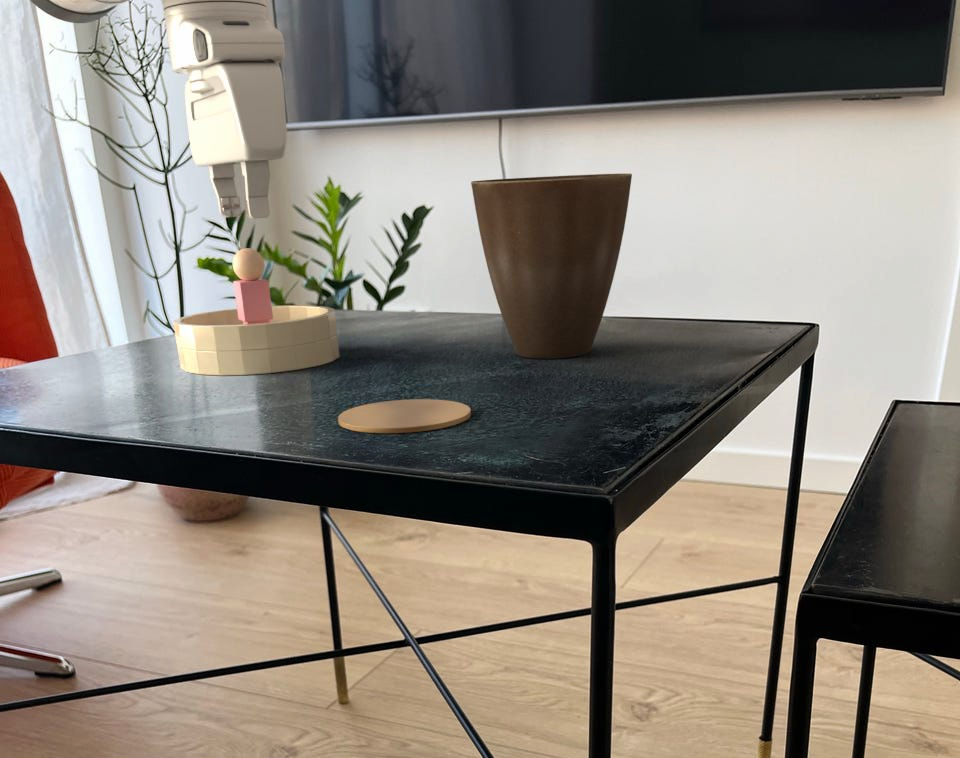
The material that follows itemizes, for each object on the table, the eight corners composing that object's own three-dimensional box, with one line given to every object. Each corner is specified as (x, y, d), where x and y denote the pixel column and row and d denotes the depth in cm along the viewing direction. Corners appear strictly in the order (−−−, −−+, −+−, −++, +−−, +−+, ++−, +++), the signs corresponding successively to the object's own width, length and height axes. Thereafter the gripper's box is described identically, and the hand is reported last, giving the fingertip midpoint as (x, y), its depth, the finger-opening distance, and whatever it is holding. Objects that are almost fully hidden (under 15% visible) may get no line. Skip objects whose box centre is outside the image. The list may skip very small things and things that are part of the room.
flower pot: (650, 359, 95) (654, 171, 89) (494, 371, 93) (487, 180, 86) (603, 337, 109) (604, 173, 102) (466, 347, 106) (458, 180, 100)
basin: (203, 388, 92) (194, 331, 89) (167, 366, 104) (159, 315, 102) (362, 368, 98) (357, 314, 96) (310, 349, 110) (305, 301, 108)
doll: (249, 364, 99) (234, 250, 94) (241, 361, 101) (225, 248, 97) (281, 361, 100) (267, 247, 96) (272, 357, 103) (258, 246, 98)
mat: (367, 440, 70) (367, 434, 70) (320, 415, 79) (319, 410, 78) (494, 420, 74) (494, 414, 74) (436, 398, 83) (436, 393, 82)
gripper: (160, 61, 97) (186, 218, 102) (213, 32, 80) (240, 221, 86) (225, 61, 99) (247, 214, 105) (290, 32, 83) (310, 216, 88)
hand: (244, 217), depth 95 cm, fingers open, 8 cm apart
